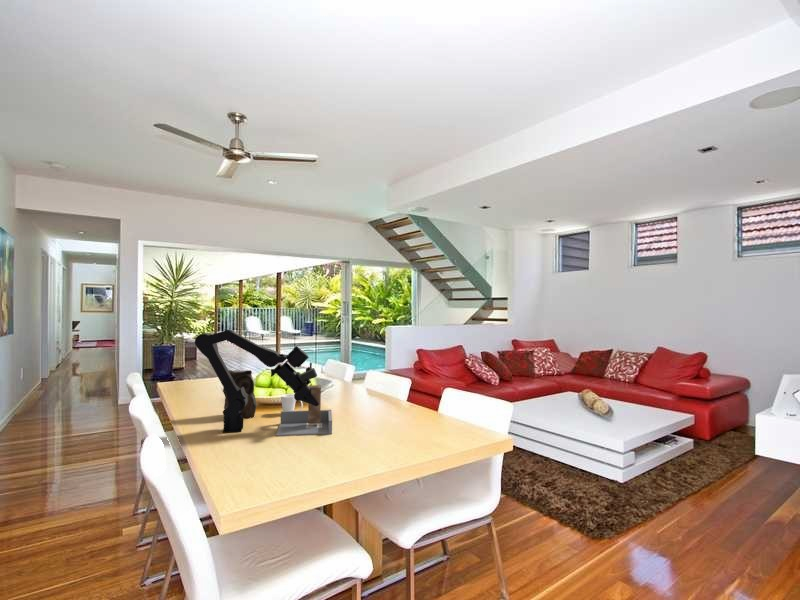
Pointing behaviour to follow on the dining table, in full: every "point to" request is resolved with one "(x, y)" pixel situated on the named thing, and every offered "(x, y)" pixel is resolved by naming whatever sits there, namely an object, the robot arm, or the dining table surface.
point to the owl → (247, 382)
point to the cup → (289, 402)
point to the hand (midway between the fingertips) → (318, 404)
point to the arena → (304, 423)
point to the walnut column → (314, 410)
